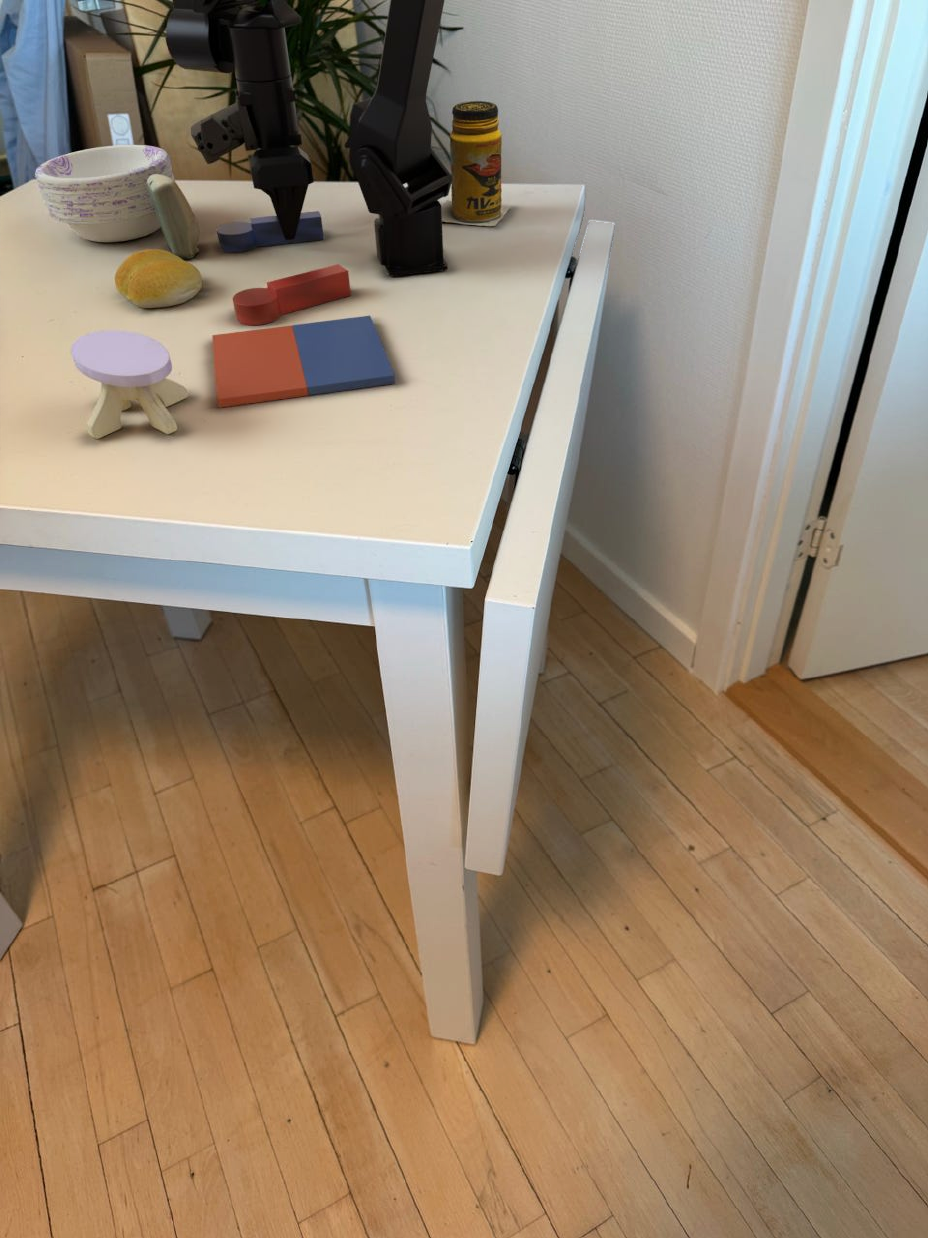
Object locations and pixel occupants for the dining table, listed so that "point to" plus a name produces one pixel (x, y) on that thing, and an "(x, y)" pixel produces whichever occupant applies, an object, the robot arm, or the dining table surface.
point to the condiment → (475, 166)
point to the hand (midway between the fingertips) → (287, 231)
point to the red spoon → (291, 295)
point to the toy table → (127, 378)
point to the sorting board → (299, 361)
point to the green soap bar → (174, 216)
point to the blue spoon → (267, 232)
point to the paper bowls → (104, 190)
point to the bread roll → (157, 279)
